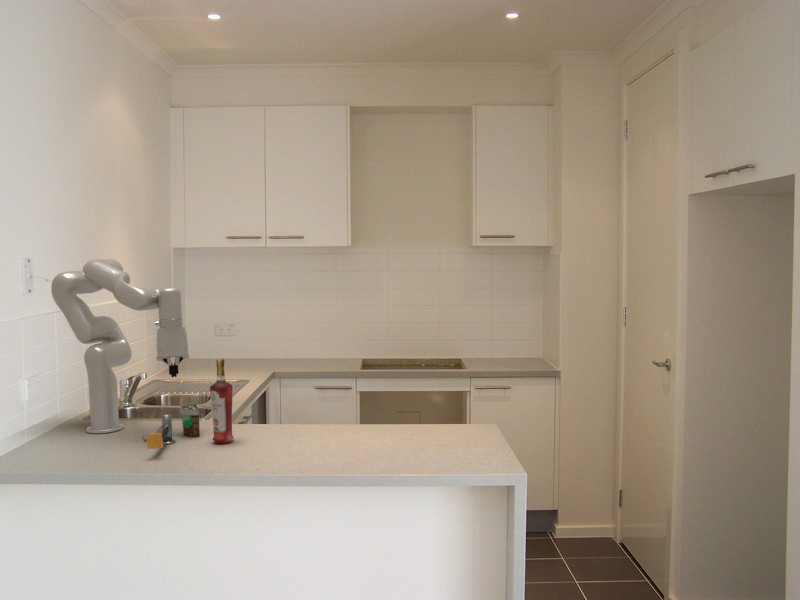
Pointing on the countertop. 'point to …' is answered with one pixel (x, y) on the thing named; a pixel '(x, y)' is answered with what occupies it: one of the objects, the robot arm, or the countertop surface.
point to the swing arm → (157, 437)
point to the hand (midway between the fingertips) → (174, 376)
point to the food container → (190, 420)
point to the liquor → (221, 406)
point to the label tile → (145, 437)
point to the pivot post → (167, 421)
